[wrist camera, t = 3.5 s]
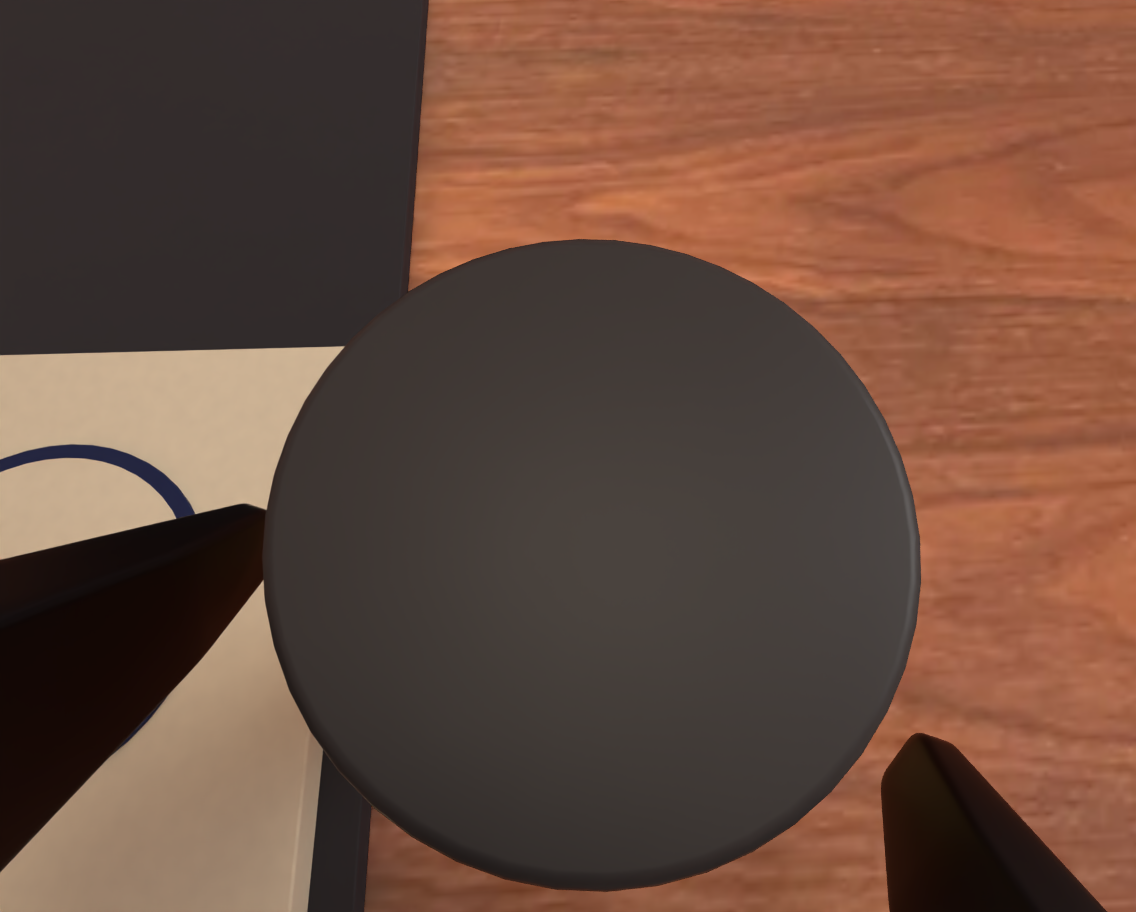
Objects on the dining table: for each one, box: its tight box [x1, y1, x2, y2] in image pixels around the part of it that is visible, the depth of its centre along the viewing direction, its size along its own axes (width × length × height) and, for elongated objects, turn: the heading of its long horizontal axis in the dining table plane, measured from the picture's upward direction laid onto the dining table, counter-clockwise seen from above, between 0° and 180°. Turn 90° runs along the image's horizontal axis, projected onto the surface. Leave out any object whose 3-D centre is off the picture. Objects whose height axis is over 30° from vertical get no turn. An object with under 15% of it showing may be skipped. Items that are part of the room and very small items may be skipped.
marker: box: [262, 239, 921, 892], centre depth 9 cm, size 3×3×14 cm
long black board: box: [0, 0, 428, 912], centre depth 22 cm, size 66×18×2 cm, turn 2°
